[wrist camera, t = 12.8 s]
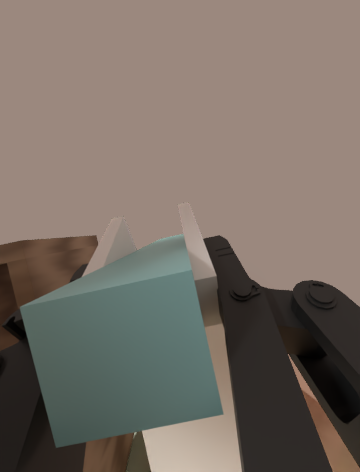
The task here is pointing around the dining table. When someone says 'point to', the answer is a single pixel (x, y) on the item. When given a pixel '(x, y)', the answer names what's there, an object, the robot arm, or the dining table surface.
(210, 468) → the pillar
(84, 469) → the tall wooden grooved block
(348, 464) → the dining table surface
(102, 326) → the bar
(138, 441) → the dining table surface
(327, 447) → the dining table surface
